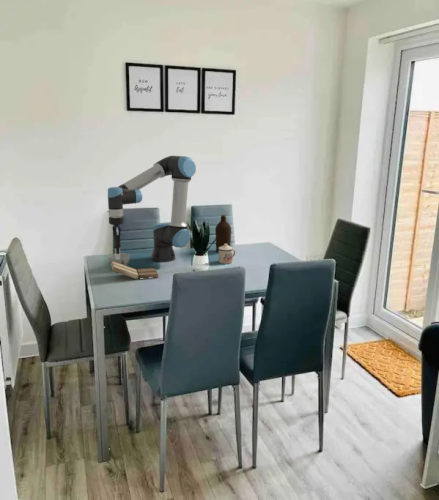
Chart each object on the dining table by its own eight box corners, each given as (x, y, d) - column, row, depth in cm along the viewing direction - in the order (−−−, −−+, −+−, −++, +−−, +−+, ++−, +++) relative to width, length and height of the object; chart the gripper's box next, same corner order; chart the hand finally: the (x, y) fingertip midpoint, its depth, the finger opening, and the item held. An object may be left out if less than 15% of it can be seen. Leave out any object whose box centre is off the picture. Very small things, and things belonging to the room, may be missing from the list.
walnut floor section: (137, 273, 254) (136, 269, 253) (154, 271, 257) (154, 267, 256) (140, 279, 243) (139, 275, 242) (158, 277, 246) (158, 273, 245)
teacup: (134, 268, 261) (133, 255, 259) (115, 273, 254) (114, 259, 252) (122, 263, 272) (121, 250, 270) (103, 266, 265) (102, 254, 263)
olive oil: (233, 250, 302) (234, 214, 296) (226, 254, 293) (226, 217, 287) (220, 248, 307) (220, 213, 301) (212, 252, 299) (212, 215, 292)
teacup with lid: (223, 265, 270) (224, 246, 267) (215, 261, 277) (215, 243, 274) (239, 261, 277) (239, 243, 274) (230, 258, 284) (230, 240, 281)
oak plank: (110, 264, 248) (112, 260, 248) (134, 272, 253) (135, 269, 253) (112, 270, 237) (114, 267, 237) (137, 279, 242) (138, 275, 242)
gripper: (107, 214, 241) (109, 256, 247) (109, 219, 229) (111, 262, 235) (121, 214, 243) (123, 255, 249) (124, 218, 231) (126, 261, 237)
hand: (117, 259), depth 242 cm, fingers closed
